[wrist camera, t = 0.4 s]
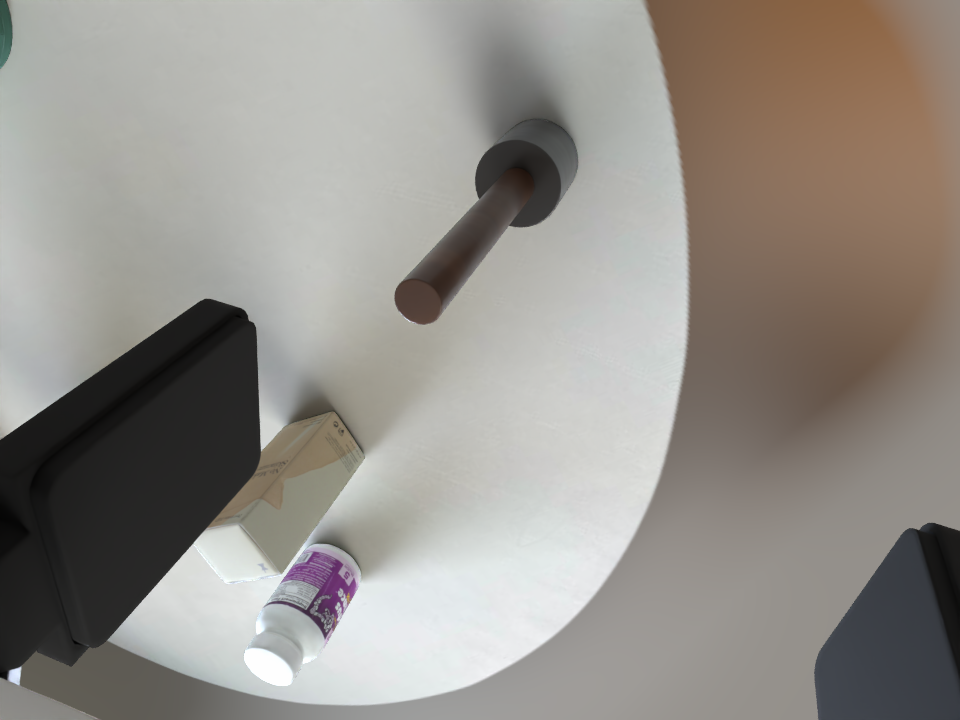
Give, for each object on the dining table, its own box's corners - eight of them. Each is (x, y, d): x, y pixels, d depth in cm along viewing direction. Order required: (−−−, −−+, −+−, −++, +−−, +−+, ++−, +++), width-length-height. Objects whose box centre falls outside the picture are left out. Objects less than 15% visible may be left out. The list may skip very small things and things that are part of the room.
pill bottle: (369, 594, 57) (310, 700, 50) (311, 582, 59) (245, 684, 51) (357, 546, 55) (293, 650, 47) (297, 535, 56) (225, 634, 48)
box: (336, 408, 48) (242, 521, 39) (368, 458, 49) (284, 578, 40) (281, 425, 50) (180, 535, 41) (313, 472, 52) (223, 588, 43)
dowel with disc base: (484, 145, 35) (335, 276, 22) (550, 102, 33) (429, 218, 20) (526, 213, 37) (407, 374, 24) (593, 175, 34) (503, 329, 22)
